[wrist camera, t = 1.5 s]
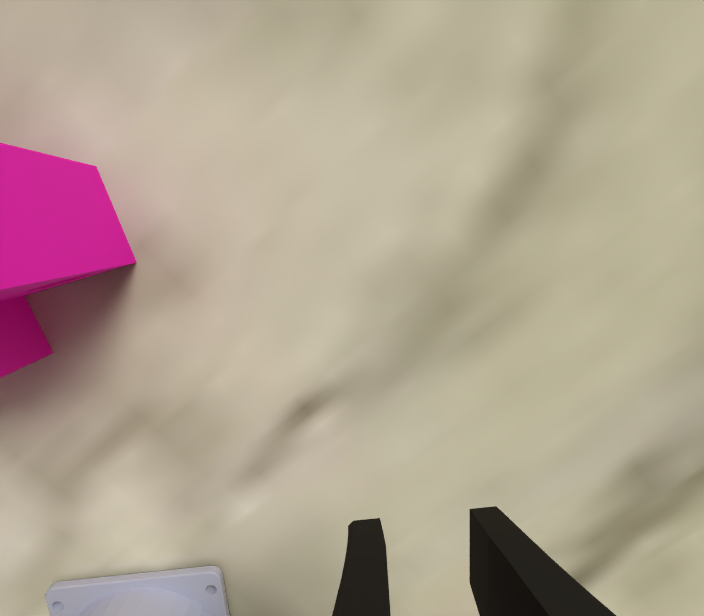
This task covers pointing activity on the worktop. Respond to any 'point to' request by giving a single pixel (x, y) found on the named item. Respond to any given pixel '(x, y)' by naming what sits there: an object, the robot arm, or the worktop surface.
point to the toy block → (48, 241)
